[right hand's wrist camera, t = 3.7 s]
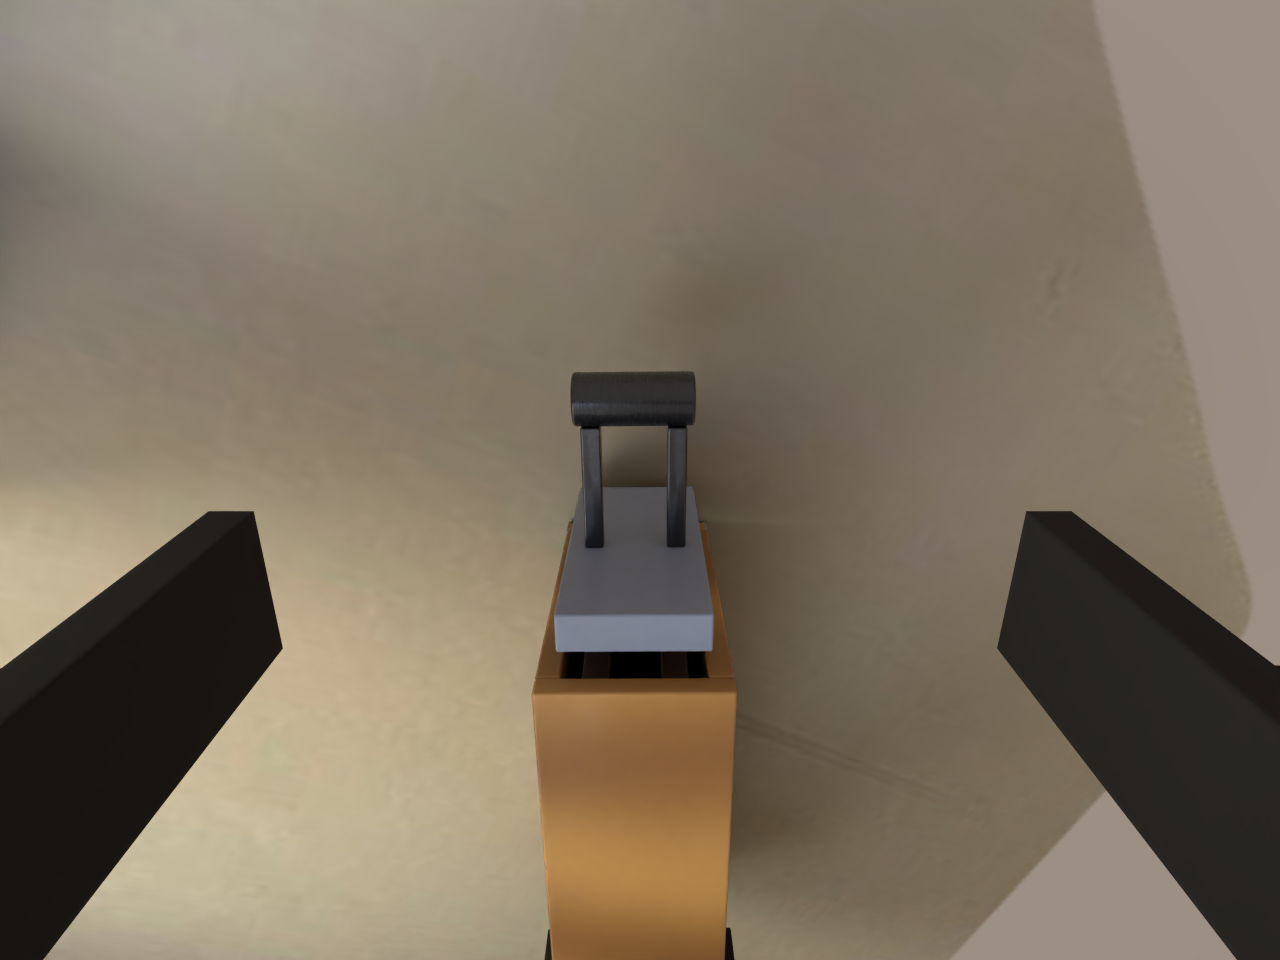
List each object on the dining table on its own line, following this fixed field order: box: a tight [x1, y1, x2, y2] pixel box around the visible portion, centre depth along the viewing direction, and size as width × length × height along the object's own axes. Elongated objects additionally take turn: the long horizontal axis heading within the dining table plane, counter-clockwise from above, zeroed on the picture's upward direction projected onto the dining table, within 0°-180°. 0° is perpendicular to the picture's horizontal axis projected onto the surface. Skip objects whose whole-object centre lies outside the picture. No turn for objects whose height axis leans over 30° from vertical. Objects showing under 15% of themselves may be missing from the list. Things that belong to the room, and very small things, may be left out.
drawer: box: [554, 371, 714, 679], centre depth 26 cm, size 24×4×9 cm, turn 0°
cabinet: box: [532, 521, 737, 960], centre depth 28 cm, size 19×6×11 cm, turn 0°
